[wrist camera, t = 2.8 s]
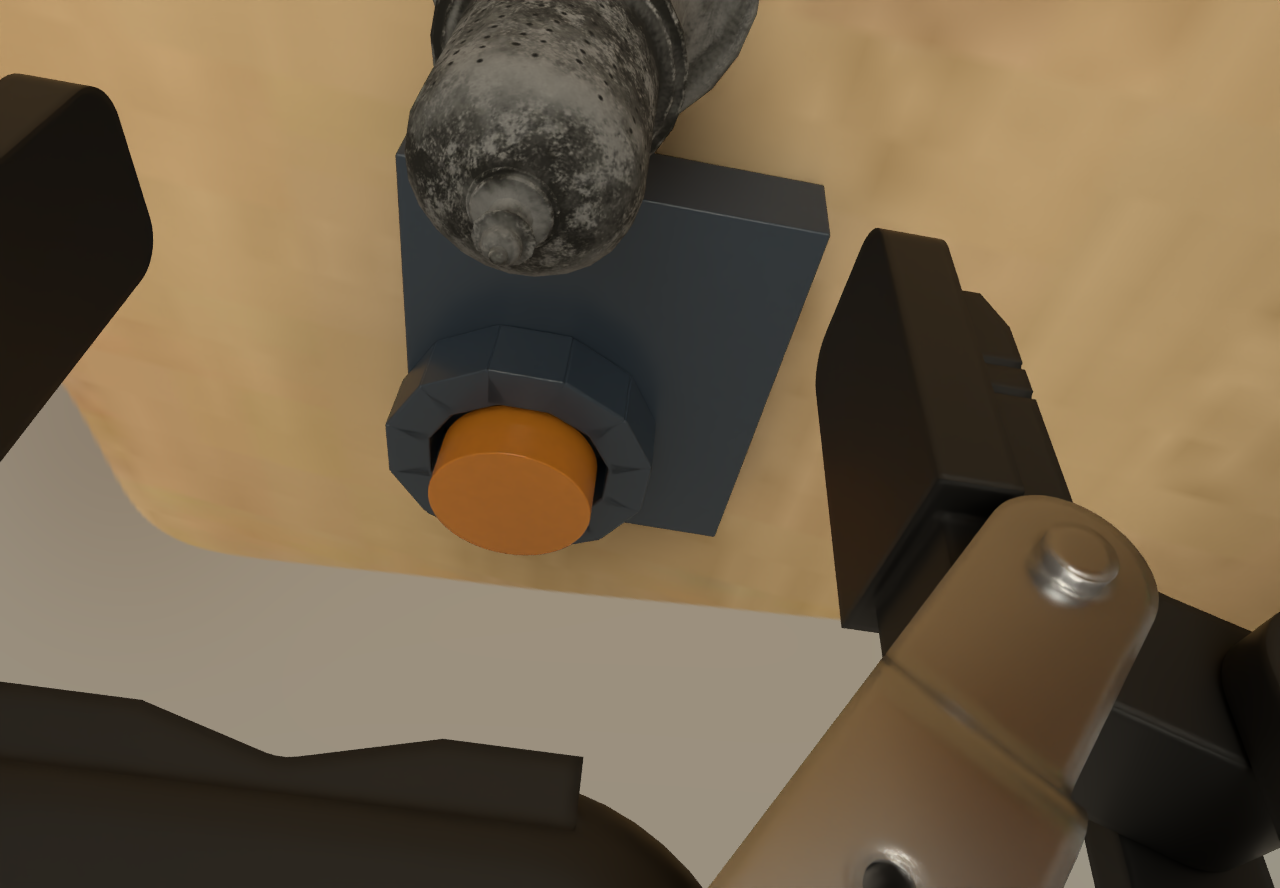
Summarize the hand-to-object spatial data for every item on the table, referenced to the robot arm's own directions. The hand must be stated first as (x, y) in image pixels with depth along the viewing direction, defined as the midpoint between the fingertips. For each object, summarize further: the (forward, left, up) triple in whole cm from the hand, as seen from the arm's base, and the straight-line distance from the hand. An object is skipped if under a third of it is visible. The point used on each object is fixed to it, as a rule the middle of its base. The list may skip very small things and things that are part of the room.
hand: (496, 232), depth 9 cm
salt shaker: (0, 0, -12) cm, 12 cm away
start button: (+13, 0, -8) cm, 15 cm away
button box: (+11, +1, -11) cm, 16 cm away
